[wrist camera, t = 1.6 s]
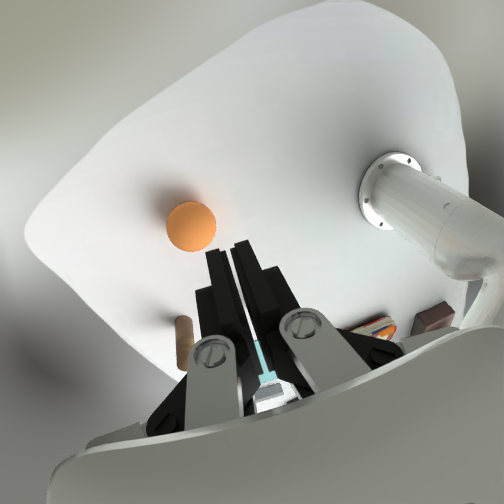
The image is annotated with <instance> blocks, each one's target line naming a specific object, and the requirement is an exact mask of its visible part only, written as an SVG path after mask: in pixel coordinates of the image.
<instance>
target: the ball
mask: <svg viewBox="0 0 504 504" xmlns="http://www.w3.org/2000/svg"><path fill="white" fill-rule="evenodd" d="M166 229H167V234H168V237H169V239H170V241H171V242H172V243H173V244H174V245H175V246H176V247H177V248H179V249H181V250H184V251H188V252H194V251H199V250H201V249H203V248H205V247H206V246H207V245H209V244H210V242H211V241H212V239H213V238H214V235H215V232H216V221H215V218H214V215H213V213H212V212H211V210H210V209H209V208H208V207H206V206H205V205H203V204H201V203H198V202H185V203H182V204H180V205H178V206H177V207H175V208H174V209H173V210H172V212H171V213H170V215H169V217H168V220H167V225H166Z"/></svg>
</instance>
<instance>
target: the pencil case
mask: <svg viewBox="0 0 504 504" xmlns="http://www.w3.org/2000/svg"><path fill="white" fill-rule="evenodd" d="M396 327H397V326H396V324H395V323H394V321H393V320H392V319H391V317H390V316H385V317H382V318H380V319H378V320H375V321H373V322H370V323H368V324H366V325H364V326H361V327H359V328H357V329H354V330H352V331H350V332H354V333H358V334H362V335H367V336H371V337H375V338H380V339H384V340H388V341H389V340H390V339H391V338H392V336H393V334H394V333H395V331H396Z"/></svg>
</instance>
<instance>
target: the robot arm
mask: <svg viewBox="0 0 504 504" xmlns="http://www.w3.org/2000/svg"><path fill="white" fill-rule="evenodd" d="M359 204H360V209H361V211H362V214H363V216H364V217H365V219H366V220H367V221H368V222H369V223H370V224H372V225H373V226H375V227H377V228H379V229H385V230H386V229H394V230H395V231H396V232H398V233H399V234H400V235H401V236H402V237H404V238H405V239H406V240H407V241H408V242H410V243H411V244H412V245H413V246H414V247H416V248H417V249H418V250H419V251H420V252H421V253H423V254H424V255H425V256H426V257H427V258H428V259H429V260H431V261H432V262H433V263H434V264H435V265H436V266H437V267H438V268H439V269H441V270H442V271H443V272H444V273H445V274H446V275H448V276H449V277H451V278H453V279H456V280H459V281H472V280H478V279H483V280H484V281H483V285H482V287H481V289H480V291H479V293H478V296H477V298H476V299H475V301H474V303H473V304H472V306H471V308H470V310H469V311H468V313H467V315H466V316H465V318H464V319H463V321H462V322H461V324H460V325H459V327H458V328H456V327H444V328H441V329H437V330H434V331H430V332H427V333H423V334H419V335H415V336H412V337H408V338H404V339H401V340H400V343H394V342H391V341H388V340H384V339H380V338H375V337H371V336H367V335H362V334H358V333H354V332H350V331H346V330H342V329H337V328H335V327H334V326H333V325H332V324H331V323H330V322H329V321H328V320H327V318H326V317H325V316H324V315H323V314H322V313H320V312H319V311H317V310H315V309H312V308H300V306H299V304H298V302H297V300H296V298H295V297H294V295H293V293H292V291H291V289H290V287H289V286H288V284H287V282H286V280H285V278H284V276H283V275H282V273H281V271H280V269H279V268H278V266H275V267H271V268H268V269H265V270H262V269H261V267H260V265H259V262H258V260H257V258H256V256H255V254H254V252H253V249H252V247H251V245H250V243H249V241H248V240H245V241H242V242H238V243H235V244H234V245H235V247H234V248H231V249H230V251H231V255H232V258H233V262H234V265H235V269H236V272H237V276H238V279H239V283H240V286H241V290H242V293H243V297H244V300H245V303H246V307H247V310H248V313H249V316H250V319H251V322H252V324H253V327H254V330H255V333H256V336H257V339H258V342H259V345H260V348H261V351H262V354H263V357H264V359H265V362H266V365H267V368H268V371H269V372H272V371H275V373H276V376H277V378H279V379H280V380H283V381H286V382H289V383H290V384H291V387H292V389H293V390H294V392H295V394H296V395H297V397H298V398H299V400H298V401H295V402H292V403H289V404H286V405H283V406H280V407H277V408H274V409H270V410H267V411H264V412H260V413H257V409H256V400H255V396H254V394H255V393H256V391H257V390H258V388H259V387H260V385H261V383H260V379H259V375H262V374H264V372H263V369H262V366H261V363H260V359H259V356H258V353H257V350H256V347H255V343H254V340H253V337H252V334H251V330H250V327H249V324H248V321H247V318H246V314H245V311H244V308H243V305H242V302H241V299H240V296H239V293H238V289H237V286H236V283H235V280H234V277H233V274H232V270H231V267H230V264H229V261H228V258H227V254H226V251H225V250H224V251H221V252H220V250H219V248H218V249H215V250H211V251H208V252H205V254H206V259H207V264H208V269H209V274H210V279H211V284H212V286H208V287H205V288H202V289H198V290H196V291H195V294H196V302H197V309H198V316H199V323H200V330H201V337H202V339H201V340H199V341H198V342H197V343H195V344H194V345H193V347H192V348H191V350H190V353H189V357H188V372H187V374H186V375H185V376H184V377H183V379H182V380H181V381H180V382H179V383H178V384H177V386H176V387H175V388H174V390H172V392H171V393H170V394H169V395H168V396H167V397H166V399H165V400H164V401H163V402H162V403H161V404H160V406H159V407H158V408H157V409H156V410H155V411H154V413H153V414H152V415H151V416H150V418H149V419H148V421H147V422H146V423H144V424H142V423H141V422H138V423H135V424H133V425H130V426H127V427H125V428H122V429H119V430H117V431H114V432H111V433H108V434H105V435H103V436H99V437H96V438H94V439H93V440H91V441H90V442H89V443H88V444H87V446H86V448H85V450H83V451H80V452H78V453H76V454H73V455H71V456H69V457H67V458H66V459H65V460H63V461H62V462H61V463H59V464H58V465H57V466H56V468H55V469H54V470H53V472H52V475H51V478H50V481H49V486H48V493H47V504H504V218H503V217H501V216H499V215H497V214H496V213H494V212H492V211H491V210H488V209H487V208H485V207H484V206H482V205H481V204H479V203H477V202H476V201H474V200H472V199H470V198H469V197H467V196H465V195H464V194H462V193H460V192H458V191H456V190H455V189H453V188H451V187H449V186H447V185H446V184H444V183H442V182H441V178H440V177H439V176H436V177H430V176H428V175H426V174H424V173H423V172H422V169H421V167H420V165H419V164H418V162H417V161H416V160H415V159H414V158H413V157H411V156H409V155H407V154H404V153H401V152H391V153H387V154H385V155H383V156H381V157H380V158H378V159H377V160H376V161H375V162H374V163H373V164H372V165H371V166H370V167H369V169H368V170H367V171H366V173H365V175H364V177H363V180H362V183H361V186H360V191H359Z"/></svg>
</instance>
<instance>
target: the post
mask: <svg viewBox="0 0 504 504" xmlns="http://www.w3.org/2000/svg"><path fill="white" fill-rule="evenodd" d="M175 334H176V356H177V367H178V369H180V370H182V371H188V357H189V353H190V350H191V348H192V347H193V345H194V334H193V324H192V319H191V318H189V317H187V316H180V317H178V318H177V319H176V320H175Z"/></svg>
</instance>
